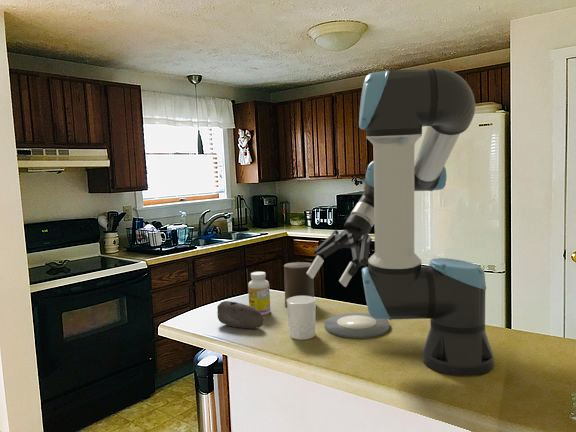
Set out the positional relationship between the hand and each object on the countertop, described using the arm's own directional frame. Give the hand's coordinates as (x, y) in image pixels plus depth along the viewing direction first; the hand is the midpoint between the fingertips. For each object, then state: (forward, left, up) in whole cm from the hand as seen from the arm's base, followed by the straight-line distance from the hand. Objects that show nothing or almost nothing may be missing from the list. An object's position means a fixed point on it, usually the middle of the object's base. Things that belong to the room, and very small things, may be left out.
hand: (325, 279), depth 134 cm
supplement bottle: (+13, +22, -14) cm, 29 cm away
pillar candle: (+21, +10, -14) cm, 27 cm away
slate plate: (0, -8, -14) cm, 16 cm away
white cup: (-7, +6, -14) cm, 17 cm away
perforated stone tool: (0, +25, -14) cm, 28 cm away
